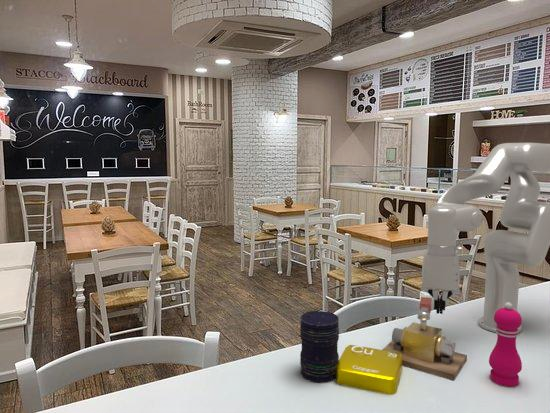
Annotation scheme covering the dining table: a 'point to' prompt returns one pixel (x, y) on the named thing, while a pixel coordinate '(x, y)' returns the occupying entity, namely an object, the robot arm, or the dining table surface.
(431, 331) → the ball valve
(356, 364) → the element tile
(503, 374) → the pepper mill
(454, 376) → the valve board
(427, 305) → the valve lever
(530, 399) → the dining table surface
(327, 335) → the black ridged cylinder
